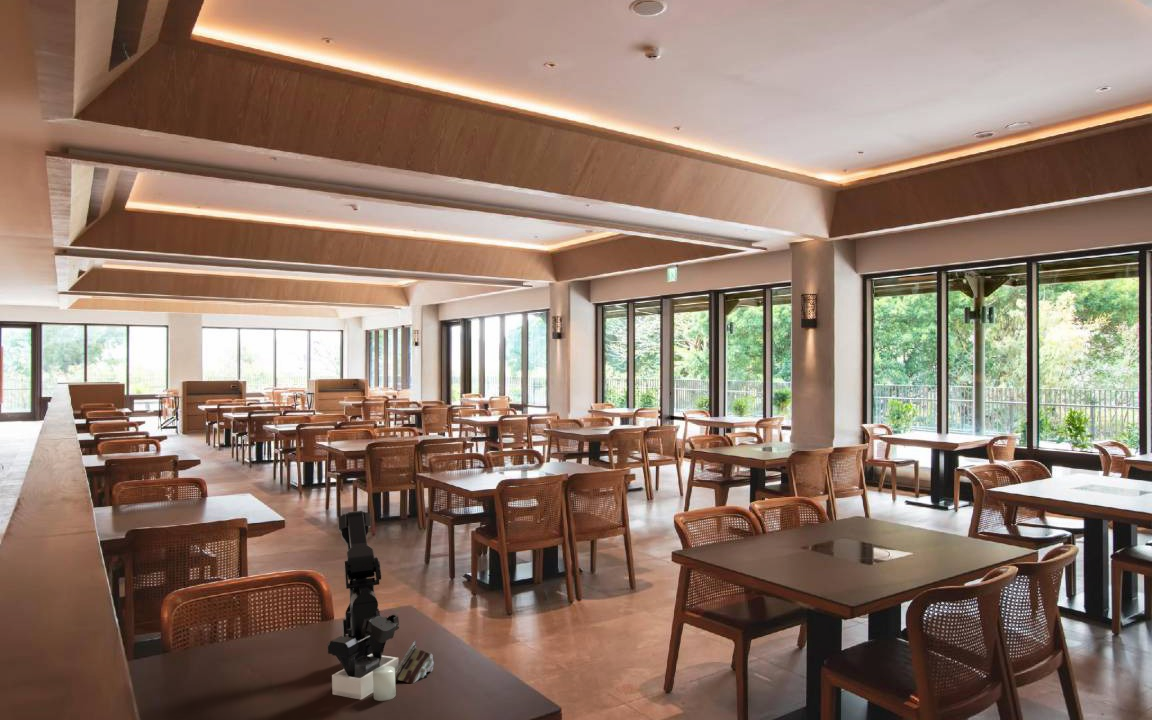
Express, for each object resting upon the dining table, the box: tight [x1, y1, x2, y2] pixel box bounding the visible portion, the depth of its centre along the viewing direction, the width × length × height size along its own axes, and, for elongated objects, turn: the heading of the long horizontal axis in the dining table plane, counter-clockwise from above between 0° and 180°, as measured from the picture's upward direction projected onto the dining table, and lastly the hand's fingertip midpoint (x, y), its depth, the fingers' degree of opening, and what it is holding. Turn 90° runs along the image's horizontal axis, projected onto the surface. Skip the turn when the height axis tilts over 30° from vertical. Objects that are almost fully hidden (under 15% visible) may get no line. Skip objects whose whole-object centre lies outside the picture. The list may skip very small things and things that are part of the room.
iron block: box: [354, 656, 380, 678], centre depth 180 cm, size 5×5×5 cm
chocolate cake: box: [395, 640, 435, 684], centre depth 186 cm, size 10×7×12 cm
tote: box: [331, 654, 400, 700], centre depth 180 cm, size 8×14×4 cm, turn 156°
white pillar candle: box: [373, 666, 397, 702], centre depth 174 cm, size 5×5×6 cm
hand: (364, 671), depth 180 cm, fingers open, 9 cm apart
